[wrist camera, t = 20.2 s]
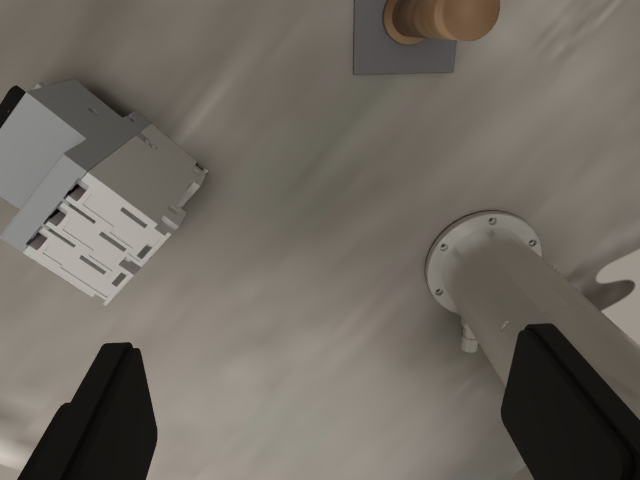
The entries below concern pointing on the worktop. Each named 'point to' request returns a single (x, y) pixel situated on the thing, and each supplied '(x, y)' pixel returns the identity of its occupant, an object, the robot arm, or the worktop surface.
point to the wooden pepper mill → (439, 19)
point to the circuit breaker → (89, 185)
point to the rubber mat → (394, 47)
